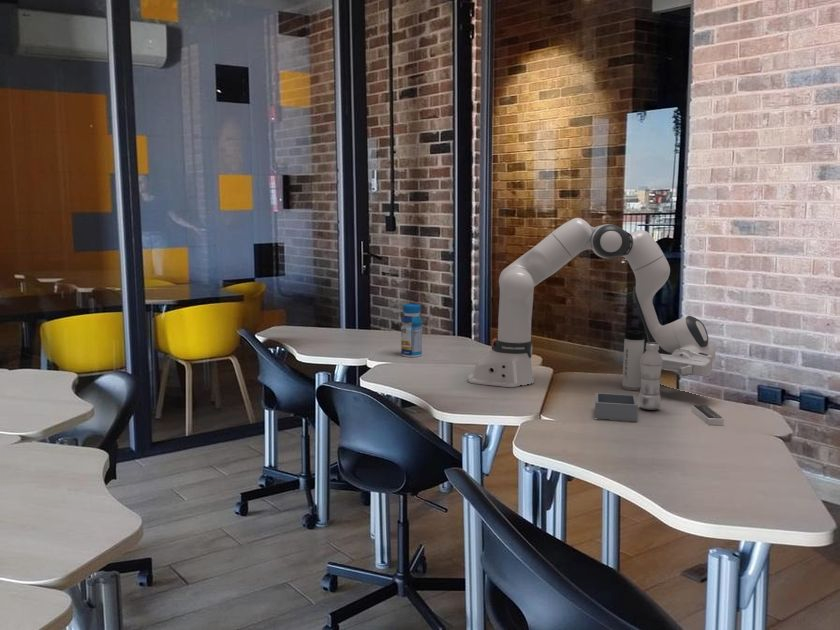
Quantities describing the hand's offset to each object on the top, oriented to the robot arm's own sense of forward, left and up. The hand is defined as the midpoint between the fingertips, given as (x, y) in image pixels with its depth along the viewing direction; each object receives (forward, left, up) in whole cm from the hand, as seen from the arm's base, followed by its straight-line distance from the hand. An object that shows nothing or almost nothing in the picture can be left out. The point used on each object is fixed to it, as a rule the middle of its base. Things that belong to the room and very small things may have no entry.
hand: (665, 368), depth 244 cm
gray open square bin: (-15, -18, -11) cm, 25 cm away
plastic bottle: (-5, -9, -11) cm, 15 cm away
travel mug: (-9, +16, -11) cm, 22 cm away
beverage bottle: (-91, +49, -11) cm, 104 cm away
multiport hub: (+11, -14, -12) cm, 21 cm away
